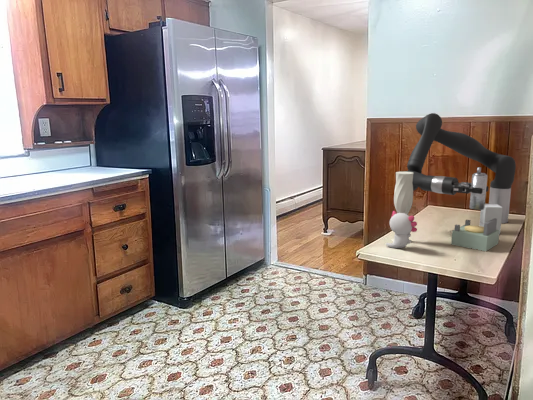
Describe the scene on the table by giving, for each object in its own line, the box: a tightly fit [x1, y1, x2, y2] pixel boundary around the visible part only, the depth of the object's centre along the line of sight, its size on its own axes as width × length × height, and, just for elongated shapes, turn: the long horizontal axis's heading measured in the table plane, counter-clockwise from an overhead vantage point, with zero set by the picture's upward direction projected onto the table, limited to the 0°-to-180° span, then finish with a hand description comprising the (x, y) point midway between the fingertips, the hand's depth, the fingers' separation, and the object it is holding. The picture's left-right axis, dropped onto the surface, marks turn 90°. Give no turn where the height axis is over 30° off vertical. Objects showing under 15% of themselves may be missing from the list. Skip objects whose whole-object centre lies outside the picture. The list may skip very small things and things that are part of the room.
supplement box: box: [478, 203, 502, 235], centre depth 203 cm, size 7×7×13 cm
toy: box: [384, 210, 418, 249], centre depth 181 cm, size 14×8×15 cm, turn 29°
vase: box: [390, 171, 414, 243], centre depth 190 cm, size 9×8×30 cm
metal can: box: [469, 166, 488, 211], centre depth 182 cm, size 6×6×17 cm
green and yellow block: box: [450, 218, 500, 252], centre depth 186 cm, size 14×14×11 cm
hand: (485, 190), depth 180 cm, fingers closed on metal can, 5 cm apart
